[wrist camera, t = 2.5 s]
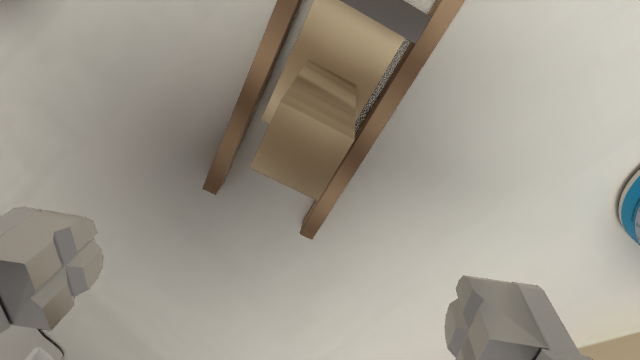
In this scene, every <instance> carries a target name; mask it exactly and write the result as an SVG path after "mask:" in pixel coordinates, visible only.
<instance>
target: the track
mask: <svg viewBox="0 0 640 360" xmlns="http://www.w3.org/2000/svg"><path fill="white" fill-rule="evenodd" d="M301 1H302V0H277V3H276V5H275V8H274V11H273V13H272V16H271V18H270V21H269V23H268V26H267V28H266V31H265V33H264V36H263V38H262V41H261V43H260V46H259V48H258V51H257V53H256V56H255V58H254V61H253V63H252V66H251V68H250V71H249V73H248V76H247V78H246V81H245V83H244V86H243V88H242V91H241V93H240V96H239V98H238V101H237V103H236V106H235V108H234V111H233V113H232V116H231V118H230V121H229V123H228V126H227V128H226V131H225V133H224V136H223V138H222V141H221V143H220V146H219V148H218V151H217V153H216V156H215V158H214V161H213V163H212V166H211V169H210V171H209V174H208V176H207V179H206V181H205V184H204V186H203V189H204V190H206V191H209V192H211V193H213V194H215V195H216V194H217V192H218V191H219V189H220V188H221V186H222V185H223V183H224V180H225V178H226V176H227V173H228V171H229V169H230V166H231V164H232V162H233V160H234V157H235V155H236V153H237V150H238V148H239V146H240V143H241V141H242V139H243V136H244V134H245V132H246V129H247V127H248V125H249V122H250V120H251V118H252V115H253V113H254V111H255V108H256V106H257V104H258V101H259V99H260V97H261V94H262V92H263V90H264V87H265V85H266V83H267V80H268V78H269V76H270V73H271V71H272V69H273V67H274V64H275V62H276V60H277V57H278V55H279V53H280V50H281V48H282V46H283V43H284V41H285V39H286V36H287V34H288V32H289V29H290V27H291V25H292V22H293V20H294V18H295V15H296V13H297V11H298V8H299V6H300V4H301ZM464 1H465V0H436V2H435V3H434V5H433V7H432V8H431V10H430V12H429V13H428V15H429V16H430V17H431V19H430V21H429V22H428V24H427V26H426V27H425V29H424V30H423V32H422V34H421V35H420V37H419V39H418V40H417V42H416V44H415V43H413V42H411V43H410V45H409V46H408V48H407V50H406V51H405V53H404V55H403V56H402V58H401V60H400V61H399V63H398V65H397V66H396V68H395V70H394V71H393V73H392V75H391V76H390V78H389V80H388V81H387V83H386V85H385V86H384V88H383V90H382V91H381V93H380V95H379V96H378V98H377V100H376V101H375V103H374V104H373V106H372V108H371V109H370V111H369V113H368V114H367V116H366V118H365V119H364V121H363V123H362V124H361V126H360V128H359V129H358V131H357V133H356V134H355V140H354V142H353V143H352V145H351V147H350V148H349V150H348V152H347V153H346V155H345V157H344V158H343V160H342V161H341V163H340V165H339V166H338V168H337V170H336V171H335V173H334V175H333V176H332V178H331V180H330V181H329V183H328V185H327V186H326V188H325V190H324V191H323V193H322V194H321V196H320V198H319V199H318V201H317V200H316V201H315V202H314V204H313V206H312V207H311V209H310V211H309V212H308V214H307V216H306V217H305V219H304V221H303V223H302V227H301V231H300V234H301V235H303V236H305V237H307V238H310V239H313V237H314V236H315V234H316V233H317V231H318V230H319V228H320V226H321V225H322V223H323V222H324V220H325V219H326V217H327V215H328V214H329V212H330V211H331V209H332V208H333V206H334V205H335V203H336V201H337V200H338V198H339V197H340V195H341V194H342V192H343V190H344V189H345V187H346V186H347V184H348V183H349V181H350V180H351V178H352V176H353V175H354V173H355V172H356V170H357V169H358V167H359V165H360V164H361V162H362V161H363V159H364V158H365V156H366V154H367V153H368V151H369V150H370V148H371V147H372V145H373V144H374V142H375V140H376V139H377V137H378V136H379V134H380V133H381V131H382V129H383V128H384V126H385V125H386V123H387V122H388V120H389V119H390V117H391V115H392V114H393V112H394V111H395V109H396V108H397V106H398V104H399V103H400V101H401V100H402V98H403V97H404V95H405V93H406V92H407V90H408V89H409V87H410V86H411V84H412V83H413V81H414V79H415V78H416V76H417V75H418V73H419V72H420V70H421V68H422V67H423V65H424V64H425V62H426V61H427V59H428V58H429V56H430V54H431V53H432V51H433V50H434V48H435V47H436V45H437V43H438V42H439V40H440V39H441V37H442V36H443V34H444V33H445V31H446V29H447V28H448V26H449V25H450V23H451V22H452V20H453V18H454V17H455V15H456V14H457V12H458V11H459V9H460V7H461V6H462V4H463V3H464Z"/></svg>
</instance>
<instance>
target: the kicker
mask: <svg viewBox="0 0 640 360" xmlns="http://www.w3.org/2000/svg"><path fill="white" fill-rule="evenodd" d="M430 19H431V17H430V16H429V15H427V14H425V13H423V12H422V11H420V10H418V9H417V8H415V7H413V6H412V5H410V4H408V3H407V2H405V1H403V0H314V2H313V4H312V6H311V8H310V11H309V13H308V15H307V17H306V20H305V22H304V24H303V26H302V29H301V31H300V33H299V35H298V38H297V40H296V42H295V44H294V46H293V49H292V51H291V53H290V55H289V58H288V60H287V62H286V64H285V67H284V69H283V71H282V73H281V76H280V78H279V80H278V82H277V85H276V87H275V89H274V91H273V94H272V96H271V98H270V100H269V103H268V105H267V107H266V109H265V112H264V114H263V116H262V118H261V121H263V122H265V123H267V124H269V126H268V129H267V131H266V133H265V135H264V137H263V139H262V142H261V144H260V146H259V148H258V150H257V152H256V155H255V157H254V159H253V161H252V163H251V165H250V168H251V169H253V170H255V171H257V172H259V173H261V174H263V175H266V176H268V177H270V178H272V179H274V180H276V181H278V182H280V183H282V184H284V185H286V186H288V187H290V188H292V189H295V190H297V191H299V192H301V193H303V194H305V195H307V196H309V197H311V198H313V199H315V200H317V201H318V199H319V198H320V196H321V194H322V193H323V191H324V190H325V188H326V186H327V185H328V183H329V181H330V180H331V178H332V176H333V175H334V173H335V171H336V170H337V168H338V166H339V165H340V163H341V161H342V160H343V158H344V157H345V155H346V153H347V152H348V150H349V148H350V147H351V145H352V143H353V142H354V140H355V122H356V120H357V119H358V117H359V115H360V113H361V112H362V110H363V108H364V107H365V105H366V103H367V102H368V100H369V98H370V97H371V95H372V93H373V91H374V90H375V88H376V86H377V85H378V83H379V81H380V80H381V78H382V76H383V75H384V73H385V71H386V69H387V68H388V66H389V64H390V63H391V61H392V59H393V58H394V56H395V54H396V53H397V51H398V49H399V47H400V46H401V44H402V42H403V41H404V39H405V38H406V39H408V40H410V41H411V42H413V43H415V44H416V42H417V40H418V39H419V37H420V35H421V34H422V32H423V30H424V29H425V27H426V26H427V24H428V22H429V21H430Z"/></svg>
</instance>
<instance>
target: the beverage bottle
mask: <svg viewBox="0 0 640 360" xmlns="http://www.w3.org/2000/svg"><path fill="white" fill-rule="evenodd" d="M619 218H620V222H621V224H622V226H623V228H624V230H625V231H626V232H627V234H628V235H629V236H630V237H631V238H632V239H634V240H635V241H636V242H637V243H638V244H639V245H640V170H639V171H638V172H637V173H636V174H635V175H634V176H633V177H632V178H631V180H630V181H629V182H628V184H627V185H626V187H625V189H624V191H623V193H622V195H621V198H620V202H619Z"/></svg>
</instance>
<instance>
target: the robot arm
mask: <svg viewBox="0 0 640 360" xmlns="http://www.w3.org/2000/svg"><path fill="white" fill-rule="evenodd" d="M96 234H97V230H96V227H95V224H94V221H93V220H91V219H89V218H87V217H82V216H76V215H71V214H65V213H59V212H54V211H48V210H40V209H34V208H29V207H20V208H14V209H12V210H11V211H9V212H8V213H6V214H5V215H3V216H1V217H0V360H61V359H62V358H63V354H62V352H61V351H60V350H59V349H58V348H57V347H56V346H55V345H53V344H52V343H51V342H50V341H48V340H47V339H46V338H44V337H43V336H42V335H41V333H40V332H39V331H38V330H37V329H42V330H50V331H51V330H52V329H53V328H54V327H55V326H56V325H57V324H58V323H59V321H60V320H61V319H62V318H63V317H64V316H65V315H66V314H67V313H68V312H69V311H70V309H71V308H72V307H73V306H74V299H75V296H76V295H78V294H80V293H82V292H84V291H86V290H88V289H89V288H90V287H91V286H92V285H93V284H94V283H95V281H96V280H97V279H98V276H99V274H100V272H101V269H102V267H103V254H102V250H101V248H100V247H99V246H98V245H97V244H96V243H95V241H94V240H93V239H94V237H95V236H96ZM456 292H457V295H458V299H456V300H455V301H453V302H452V303H450V305H449V307H448V310H447V313H446V319H445V338H446V343H447V348H448V350H449V351H450V352H451V353H452V354H453V355H454V356H455V358H456V360H593V359H592V358H591V357H588V356H582V355H580V353H579V351H578V349H577V347H576V346H575V344H574V342H573V340H572V339H571V337H570V335H569V334H568V332H567V330H566V328H565V327H564V325H563V323H562V321H561V320H560V318H559V316H558V314H557V313H556V311H555V309H554V308H553V306H552V304H551V302H550V301H549V299H548V297H547V295H546V294H545V292H544V290H543V289H542V288H540V287H539V286H538V285H531V284H523V283H516V282H512V283H511V282H505V281H499V280H492V279H485V278H478V277H471V276H465V275H463V276H462V277H461V279H460V280H459V282H458V284H457V287H456Z"/></svg>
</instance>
